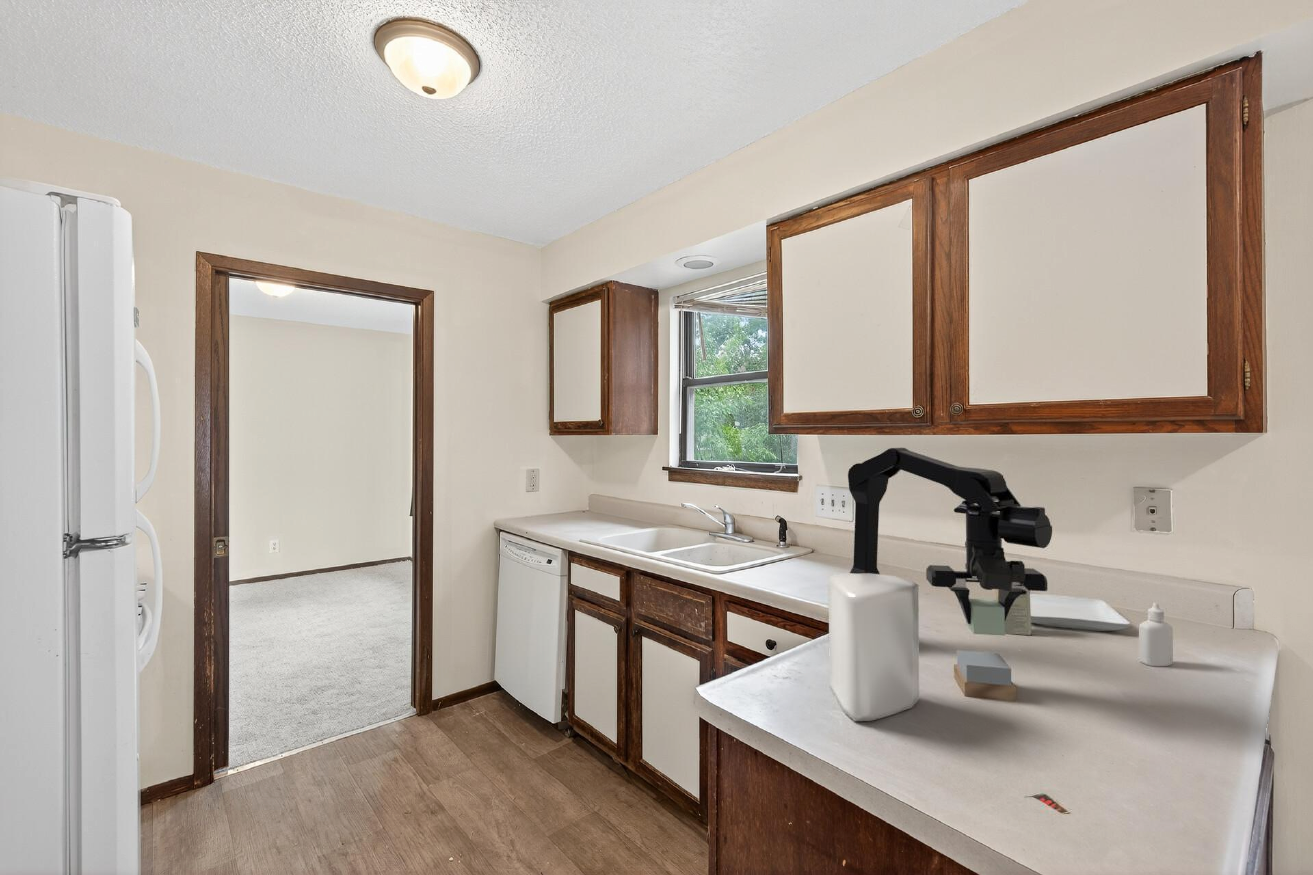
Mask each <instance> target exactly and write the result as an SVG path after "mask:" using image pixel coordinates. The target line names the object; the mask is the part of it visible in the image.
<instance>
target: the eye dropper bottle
mask: <svg viewBox="0 0 1313 875" xmlns="http://www.w3.org/2000/svg"><path fill="white" fill-rule="evenodd" d="M1173 631H1174V630H1173V627H1172V625H1171V624H1169V623H1167V622H1165V611H1164V610H1163V609H1161V608H1160V606H1159V603H1158V602H1153V604H1152V607H1149V608H1147V620H1144V621H1142V622H1141V623H1140V624H1139V625H1138V661H1139V662H1140V663H1142V664H1144V665H1147V666H1150V667H1169V666H1172V665H1173V663H1174V632H1173Z"/></svg>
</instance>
